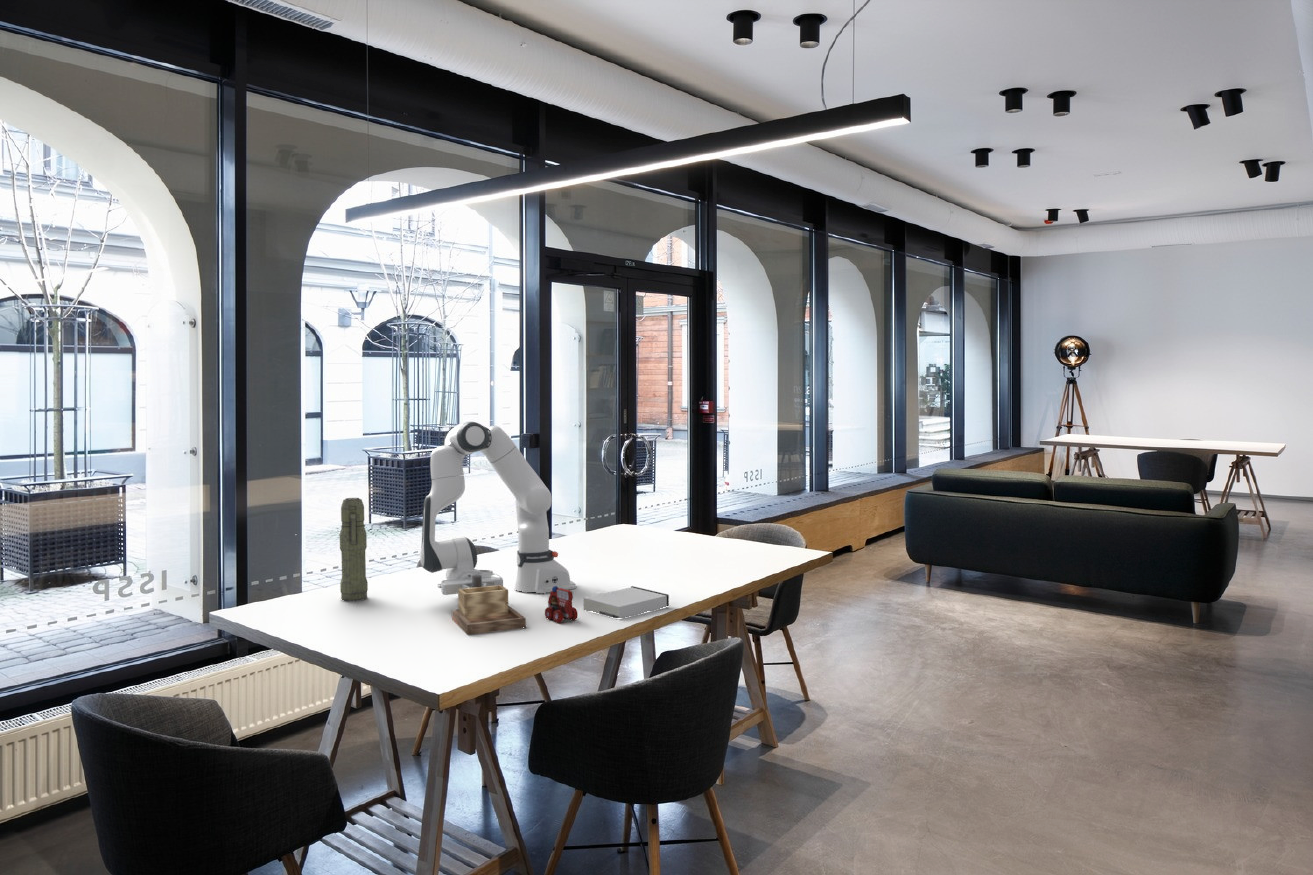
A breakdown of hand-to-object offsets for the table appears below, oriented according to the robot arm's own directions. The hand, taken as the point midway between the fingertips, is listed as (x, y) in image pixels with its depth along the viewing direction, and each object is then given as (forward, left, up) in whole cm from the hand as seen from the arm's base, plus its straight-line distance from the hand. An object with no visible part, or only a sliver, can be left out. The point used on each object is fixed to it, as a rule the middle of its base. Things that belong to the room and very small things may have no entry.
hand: (477, 589), depth 290 cm
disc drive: (-46, +14, -9) cm, 49 cm away
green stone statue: (+33, -40, -8) cm, 53 cm away
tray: (0, +13, -8) cm, 15 cm away
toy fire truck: (-22, +18, -8) cm, 29 cm away
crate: (0, +4, -6) cm, 8 cm away
